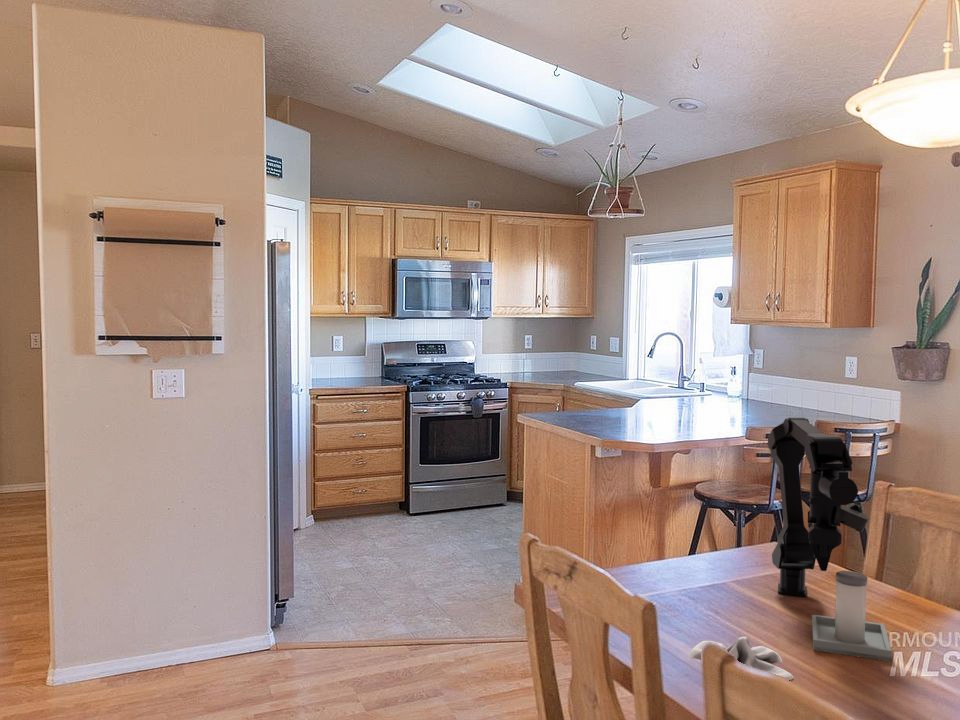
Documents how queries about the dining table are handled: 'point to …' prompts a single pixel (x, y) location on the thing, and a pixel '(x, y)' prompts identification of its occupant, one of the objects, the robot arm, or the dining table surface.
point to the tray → (871, 648)
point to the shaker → (850, 607)
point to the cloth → (748, 655)
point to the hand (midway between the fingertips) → (822, 564)
